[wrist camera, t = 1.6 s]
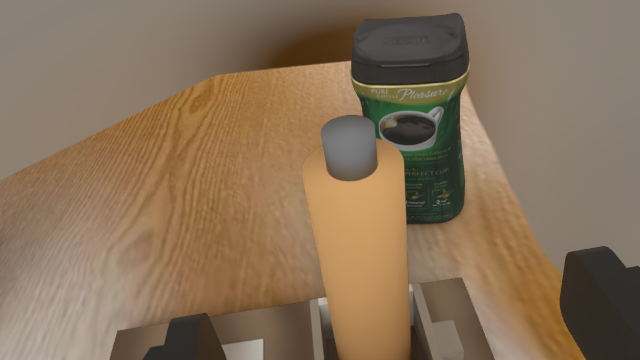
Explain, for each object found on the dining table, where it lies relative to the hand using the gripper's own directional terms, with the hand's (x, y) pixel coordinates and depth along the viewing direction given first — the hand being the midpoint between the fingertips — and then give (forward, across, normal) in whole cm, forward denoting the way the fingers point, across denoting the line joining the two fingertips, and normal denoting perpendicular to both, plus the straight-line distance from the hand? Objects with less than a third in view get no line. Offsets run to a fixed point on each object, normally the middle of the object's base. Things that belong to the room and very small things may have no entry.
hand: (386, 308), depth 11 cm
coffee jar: (+32, -6, +22) cm, 40 cm away
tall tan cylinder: (+13, 0, +22) cm, 26 cm away
